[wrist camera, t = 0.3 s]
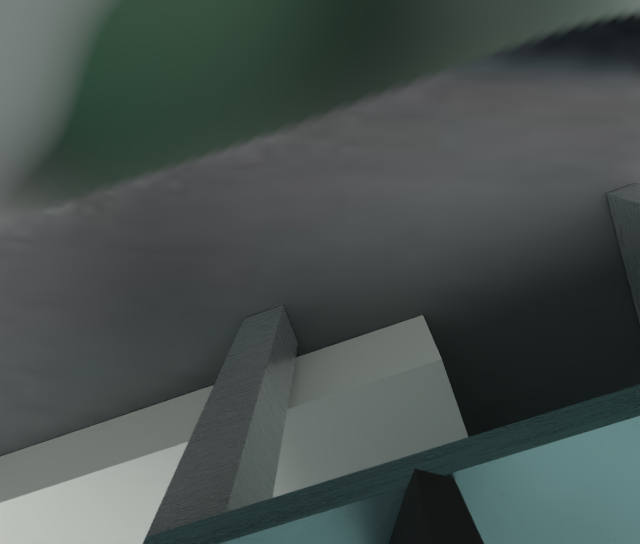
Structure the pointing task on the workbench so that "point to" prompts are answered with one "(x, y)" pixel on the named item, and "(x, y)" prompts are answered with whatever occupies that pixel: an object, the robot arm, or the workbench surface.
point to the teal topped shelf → (406, 458)
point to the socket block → (183, 414)
